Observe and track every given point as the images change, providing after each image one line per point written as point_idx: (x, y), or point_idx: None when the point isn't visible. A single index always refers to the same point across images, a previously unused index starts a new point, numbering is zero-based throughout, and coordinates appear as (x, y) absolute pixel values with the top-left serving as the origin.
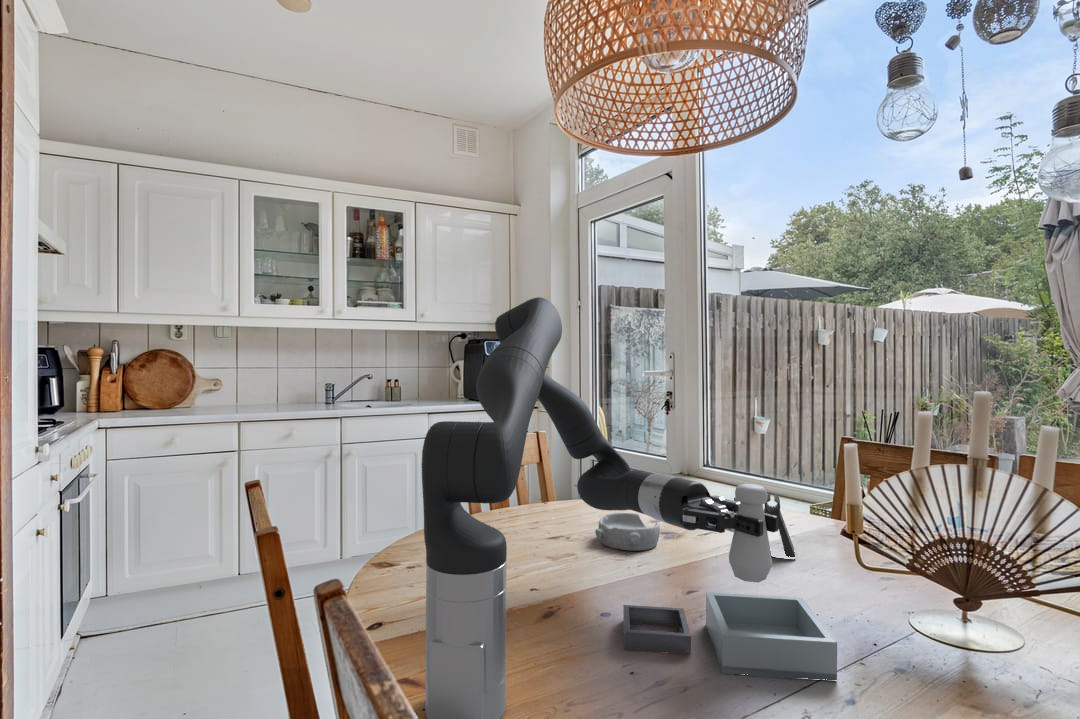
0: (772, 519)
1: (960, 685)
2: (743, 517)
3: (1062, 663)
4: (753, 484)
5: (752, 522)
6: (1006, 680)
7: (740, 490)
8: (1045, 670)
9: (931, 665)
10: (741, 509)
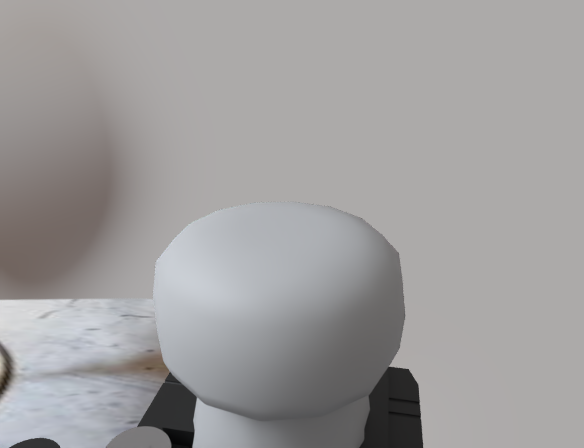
0: None
1: (167, 369)
2: (386, 422)
3: (17, 304)
4: (230, 228)
5: (390, 383)
6: (113, 337)
7: (400, 277)
8: (52, 314)
9: (112, 404)
10: (354, 415)
